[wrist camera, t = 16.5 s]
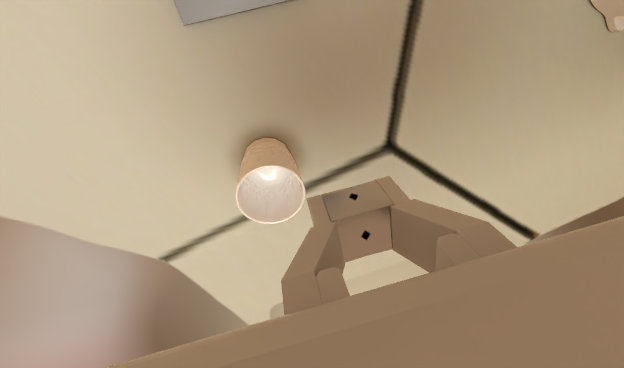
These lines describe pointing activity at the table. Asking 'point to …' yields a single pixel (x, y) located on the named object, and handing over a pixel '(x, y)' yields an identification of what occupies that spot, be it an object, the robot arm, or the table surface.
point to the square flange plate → (216, 8)
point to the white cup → (269, 183)
